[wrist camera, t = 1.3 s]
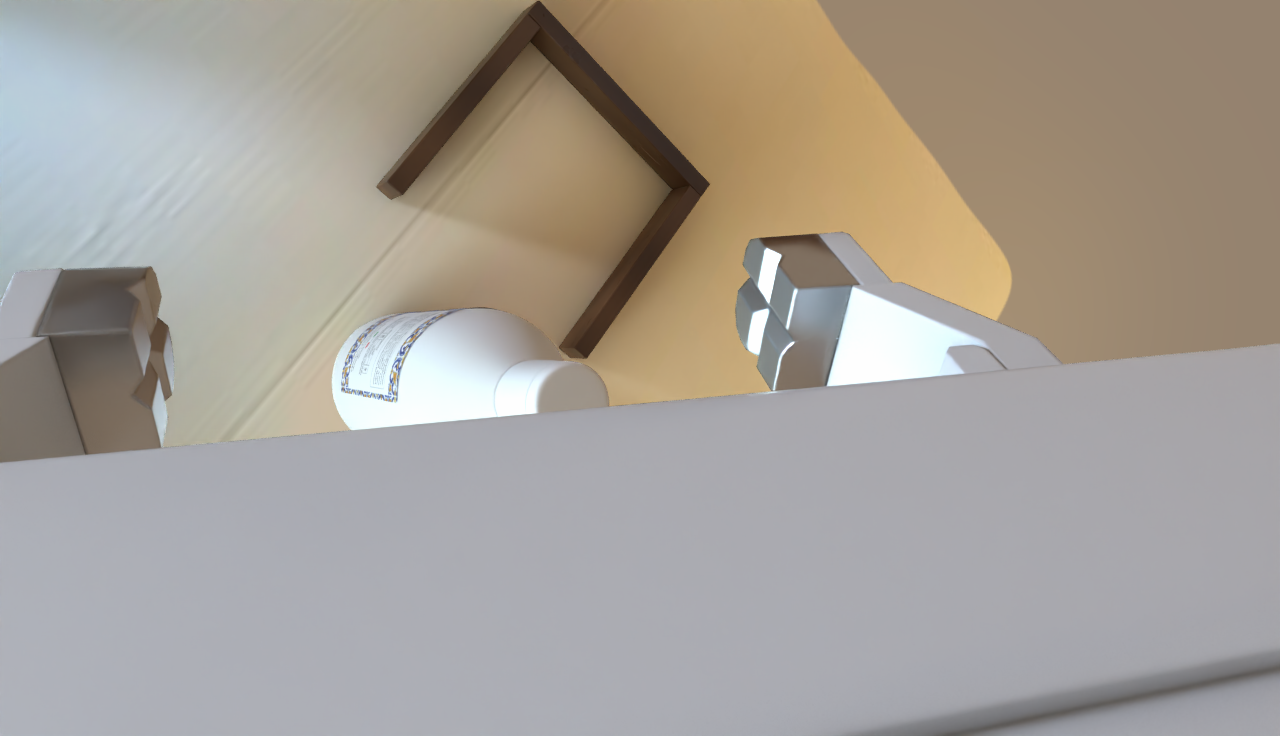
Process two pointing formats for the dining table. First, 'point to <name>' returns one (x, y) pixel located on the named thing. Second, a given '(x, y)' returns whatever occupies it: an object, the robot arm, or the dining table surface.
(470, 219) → the dining table surface
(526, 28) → the stand
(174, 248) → the dining table surface
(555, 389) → the bath foam
